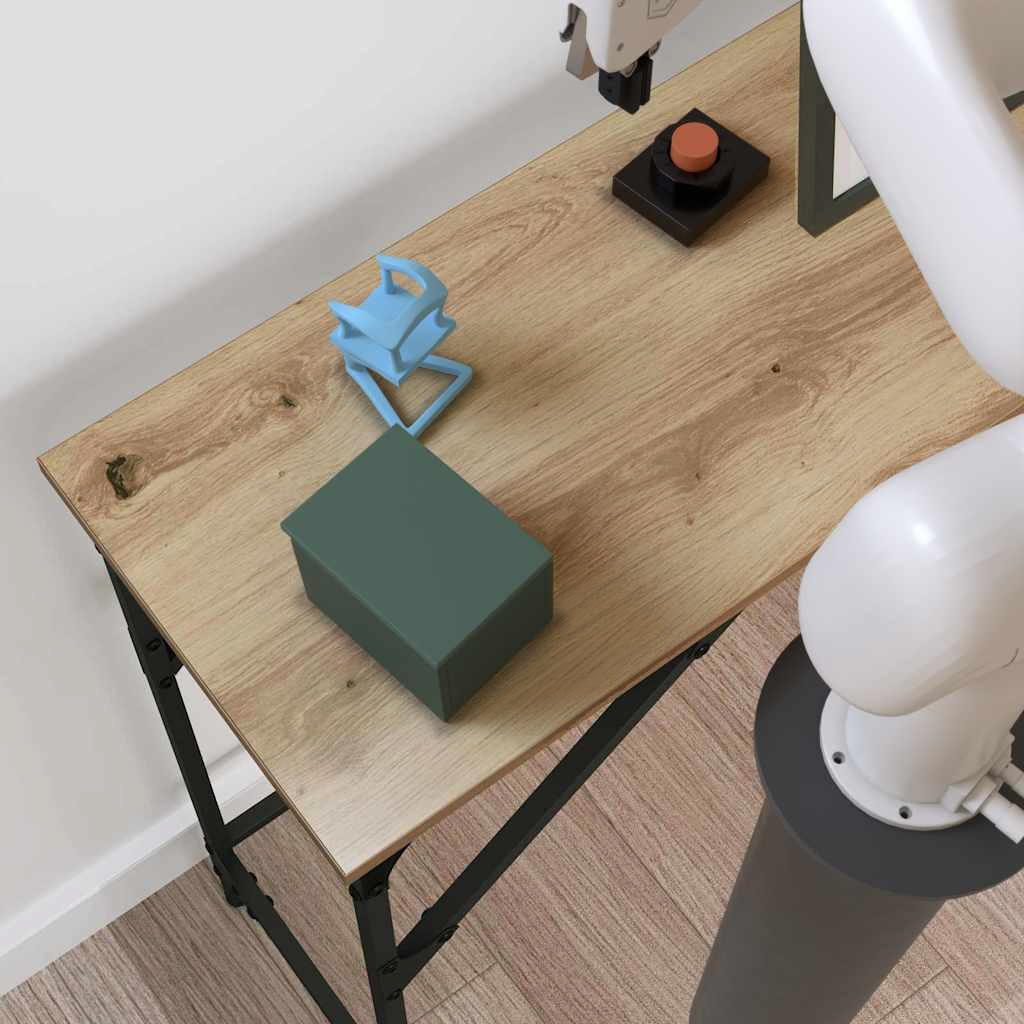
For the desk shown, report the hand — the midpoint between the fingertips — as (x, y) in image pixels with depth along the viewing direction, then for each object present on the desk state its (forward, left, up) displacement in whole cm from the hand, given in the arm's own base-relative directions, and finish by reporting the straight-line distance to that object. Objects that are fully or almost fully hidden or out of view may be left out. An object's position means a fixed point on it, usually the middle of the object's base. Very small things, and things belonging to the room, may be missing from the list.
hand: (623, 97), depth 108 cm
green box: (-10, +30, -20) cm, 37 cm away
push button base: (+2, -11, -20) cm, 23 cm away
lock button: (+2, -11, -16) cm, 20 cm away
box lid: (-9, +30, -11) cm, 33 cm away
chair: (+5, +18, -20) cm, 28 cm away
